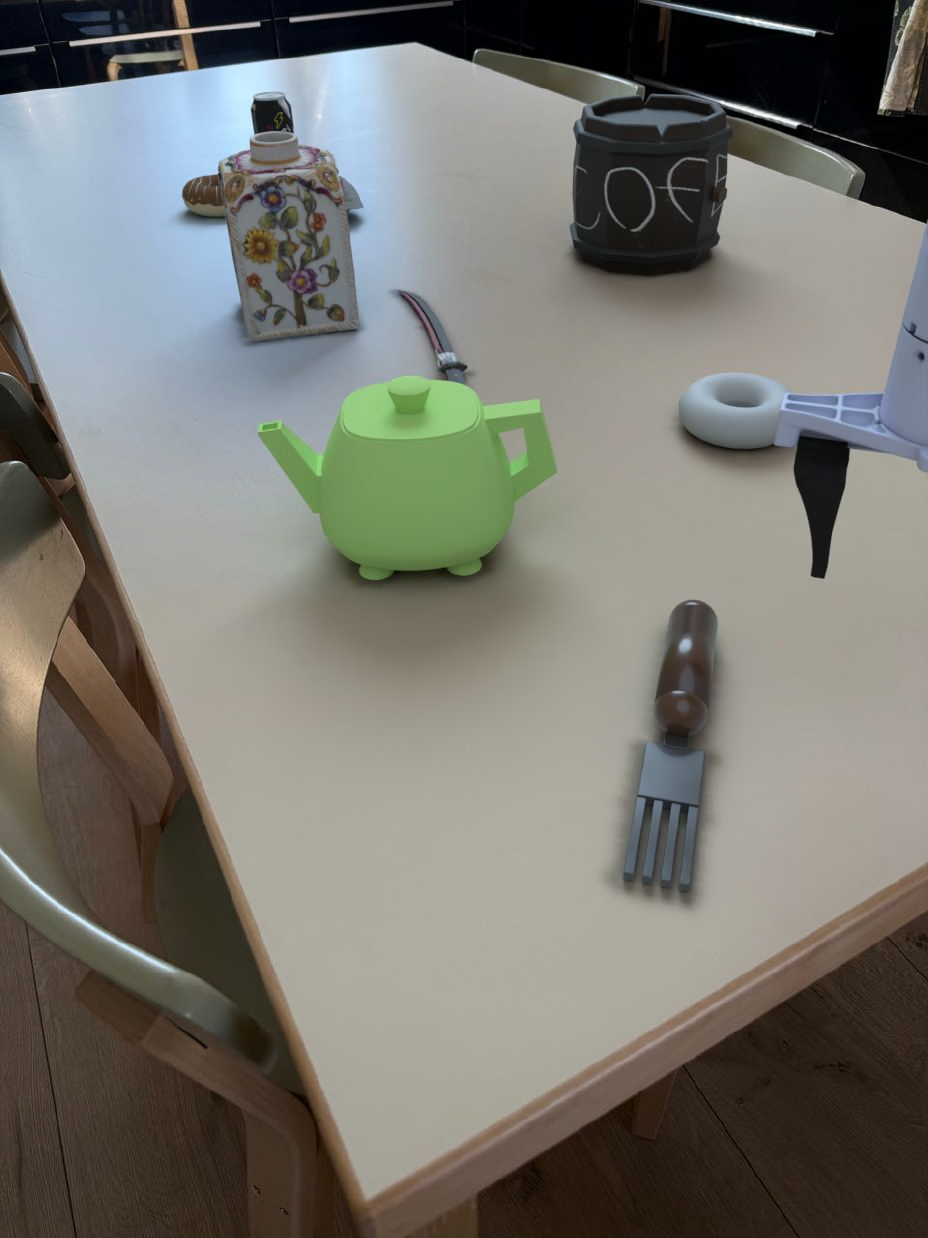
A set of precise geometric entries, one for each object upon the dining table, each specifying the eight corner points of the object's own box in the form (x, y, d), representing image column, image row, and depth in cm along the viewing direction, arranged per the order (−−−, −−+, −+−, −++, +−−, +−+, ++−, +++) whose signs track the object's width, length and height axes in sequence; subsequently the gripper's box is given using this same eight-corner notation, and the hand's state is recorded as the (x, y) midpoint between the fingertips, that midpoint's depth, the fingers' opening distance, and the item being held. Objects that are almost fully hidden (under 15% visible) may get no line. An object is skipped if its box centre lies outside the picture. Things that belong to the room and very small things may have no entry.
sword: (486, 405, 88) (486, 392, 87) (453, 409, 87) (452, 396, 87) (422, 294, 112) (422, 283, 111) (396, 297, 111) (395, 286, 111)
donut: (684, 397, 89) (668, 448, 81) (688, 360, 87) (672, 409, 79) (799, 409, 86) (793, 463, 79) (806, 372, 84) (801, 423, 77)
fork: (667, 623, 64) (672, 586, 62) (717, 630, 63) (724, 593, 61) (622, 879, 48) (627, 841, 47) (688, 892, 48) (696, 854, 46)
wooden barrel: (676, 291, 108) (692, 136, 98) (540, 261, 117) (543, 116, 107) (746, 244, 119) (767, 101, 109) (617, 220, 128) (626, 85, 118)
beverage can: (307, 179, 148) (296, 90, 140) (288, 190, 144) (275, 99, 136) (274, 176, 150) (262, 89, 142) (254, 187, 146) (240, 97, 138)
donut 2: (169, 215, 136) (162, 184, 134) (219, 194, 143) (214, 165, 141) (228, 224, 132) (223, 193, 129) (277, 203, 139) (273, 173, 137)
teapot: (270, 605, 67) (238, 439, 59) (290, 500, 77) (264, 347, 69) (565, 591, 67) (572, 423, 59) (544, 488, 77) (548, 334, 69)
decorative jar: (240, 303, 110) (209, 127, 98) (343, 291, 112) (324, 117, 100) (248, 345, 100) (215, 156, 89) (361, 331, 103) (342, 144, 91)
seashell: (296, 206, 137) (291, 168, 134) (354, 200, 139) (351, 162, 136) (305, 233, 128) (300, 192, 125) (368, 226, 130) (365, 186, 126)
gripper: (790, 347, 42) (743, 599, 50) (1181, 388, 38) (1058, 655, 46) (804, 288, 47) (759, 526, 55) (1149, 318, 43) (1044, 570, 51)
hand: (895, 580), depth 51 cm, fingers open, 7 cm apart
